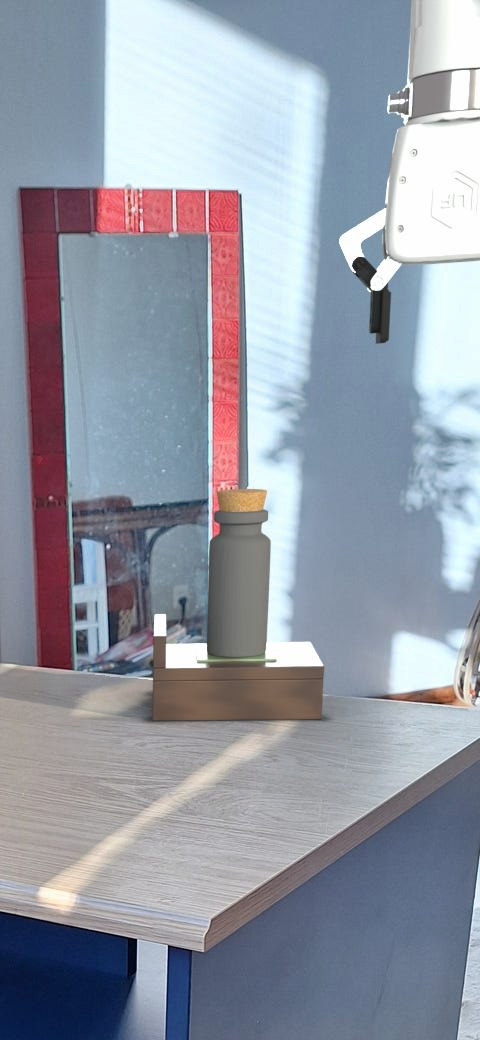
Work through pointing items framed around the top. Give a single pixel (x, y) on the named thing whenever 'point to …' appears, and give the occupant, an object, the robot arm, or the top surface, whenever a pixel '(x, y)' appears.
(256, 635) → the bottle
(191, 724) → the top surface
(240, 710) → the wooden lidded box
